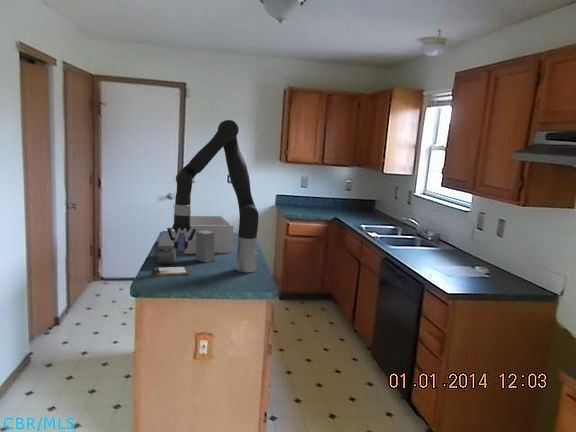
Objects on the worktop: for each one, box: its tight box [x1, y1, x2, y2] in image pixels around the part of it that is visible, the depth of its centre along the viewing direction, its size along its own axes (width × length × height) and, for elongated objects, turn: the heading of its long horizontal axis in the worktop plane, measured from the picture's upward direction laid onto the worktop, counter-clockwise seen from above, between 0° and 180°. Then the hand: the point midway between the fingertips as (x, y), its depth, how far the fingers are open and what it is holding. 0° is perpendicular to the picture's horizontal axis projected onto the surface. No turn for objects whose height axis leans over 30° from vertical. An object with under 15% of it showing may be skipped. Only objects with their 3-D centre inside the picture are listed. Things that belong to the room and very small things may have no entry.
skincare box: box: [195, 230, 216, 263], centre depth 237 cm, size 8×7×16 cm
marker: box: [176, 230, 185, 256], centre depth 215 cm, size 4×4×12 cm
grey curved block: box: [157, 234, 177, 265], centre depth 232 cm, size 25×8×11 cm, turn 10°
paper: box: [158, 266, 186, 274], centre depth 213 cm, size 12×9×1 cm
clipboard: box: [153, 266, 190, 277], centre depth 213 cm, size 15×11×2 cm
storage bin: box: [184, 215, 235, 255], centre depth 266 cm, size 27×31×16 cm
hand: (180, 248), depth 215 cm, fingers closed on marker, 3 cm apart
